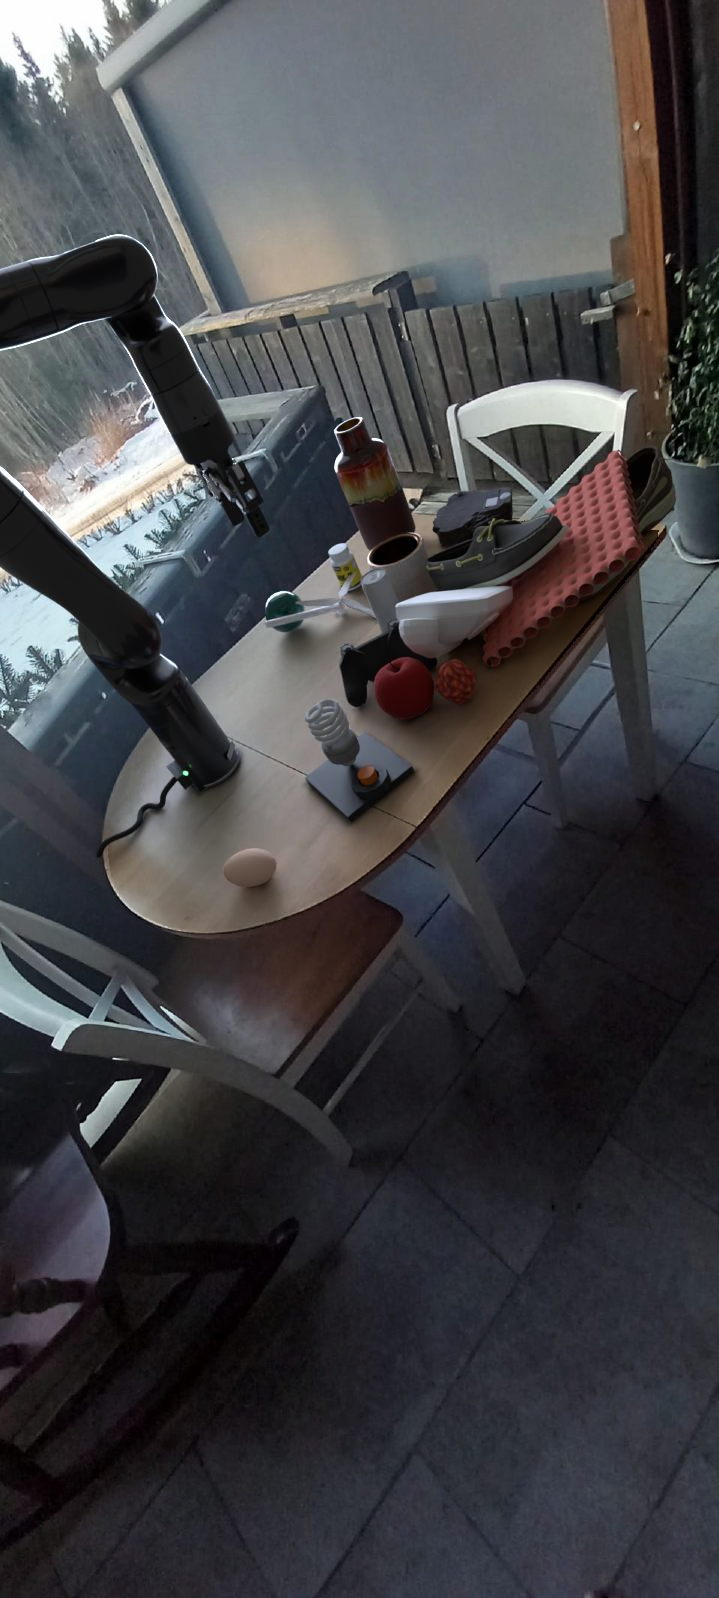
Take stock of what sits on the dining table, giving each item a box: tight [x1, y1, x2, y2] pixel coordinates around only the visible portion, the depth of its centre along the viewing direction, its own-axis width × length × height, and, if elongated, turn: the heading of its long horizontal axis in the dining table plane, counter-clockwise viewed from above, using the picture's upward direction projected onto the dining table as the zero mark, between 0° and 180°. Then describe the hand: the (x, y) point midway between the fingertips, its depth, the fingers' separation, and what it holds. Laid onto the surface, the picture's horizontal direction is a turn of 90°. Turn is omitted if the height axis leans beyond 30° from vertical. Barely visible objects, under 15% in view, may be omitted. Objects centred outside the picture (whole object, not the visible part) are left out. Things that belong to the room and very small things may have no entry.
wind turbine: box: [264, 572, 376, 629], centre depth 143 cm, size 4×14×21 cm
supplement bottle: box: [328, 542, 363, 592], centre depth 150 cm, size 5×5×8 cm
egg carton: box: [482, 449, 645, 668], centre depth 117 cm, size 28×28×2 cm
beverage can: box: [361, 568, 399, 634], centre depth 131 cm, size 5×5×12 cm
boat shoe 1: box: [425, 512, 569, 592], centre depth 121 cm, size 11×29×9 cm, turn 58°
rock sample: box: [431, 486, 514, 548], centre depth 148 cm, size 18×16×5 cm
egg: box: [222, 847, 277, 888], centre depth 104 cm, size 5×5×8 cm
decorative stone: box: [434, 658, 479, 706], centre depth 112 cm, size 6×7×8 cm
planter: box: [366, 532, 436, 603], centre depth 138 cm, size 11×11×10 cm
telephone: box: [395, 586, 513, 658], centre depth 119 cm, size 16×20×9 cm
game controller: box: [338, 619, 438, 708], centre depth 124 cm, size 16×7×10 cm, turn 107°
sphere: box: [263, 590, 306, 634], centre depth 147 cm, size 8×8×8 cm
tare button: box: [357, 766, 378, 786], centre depth 106 cm, size 3×3×2 cm
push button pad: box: [304, 731, 416, 824], centre depth 111 cm, size 14×12×3 cm
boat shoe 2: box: [579, 445, 677, 602], centre depth 122 cm, size 32×13×12 cm, turn 127°
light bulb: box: [304, 698, 360, 767], centre depth 109 cm, size 6×6×12 cm
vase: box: [333, 416, 417, 552], centre depth 147 cm, size 11×11×26 cm
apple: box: [373, 657, 435, 720], centre depth 115 cm, size 9×9×10 cm
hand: (250, 528), depth 107 cm, fingers open, 8 cm apart
